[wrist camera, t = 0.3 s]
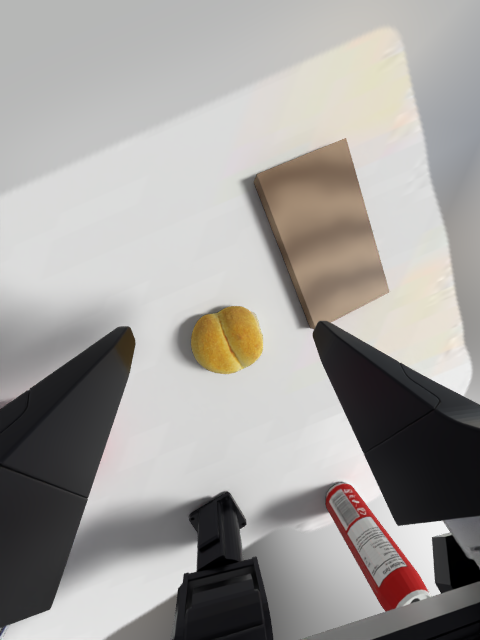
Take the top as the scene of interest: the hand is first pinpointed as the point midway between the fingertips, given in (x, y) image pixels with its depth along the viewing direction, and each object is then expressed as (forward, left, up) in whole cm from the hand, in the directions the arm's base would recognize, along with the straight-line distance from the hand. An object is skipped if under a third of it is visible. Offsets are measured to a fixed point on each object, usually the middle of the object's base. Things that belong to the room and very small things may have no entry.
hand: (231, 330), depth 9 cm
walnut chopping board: (+2, -17, -15) cm, 22 cm away
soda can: (-37, -5, -15) cm, 40 cm away
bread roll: (-4, 0, -15) cm, 16 cm away
